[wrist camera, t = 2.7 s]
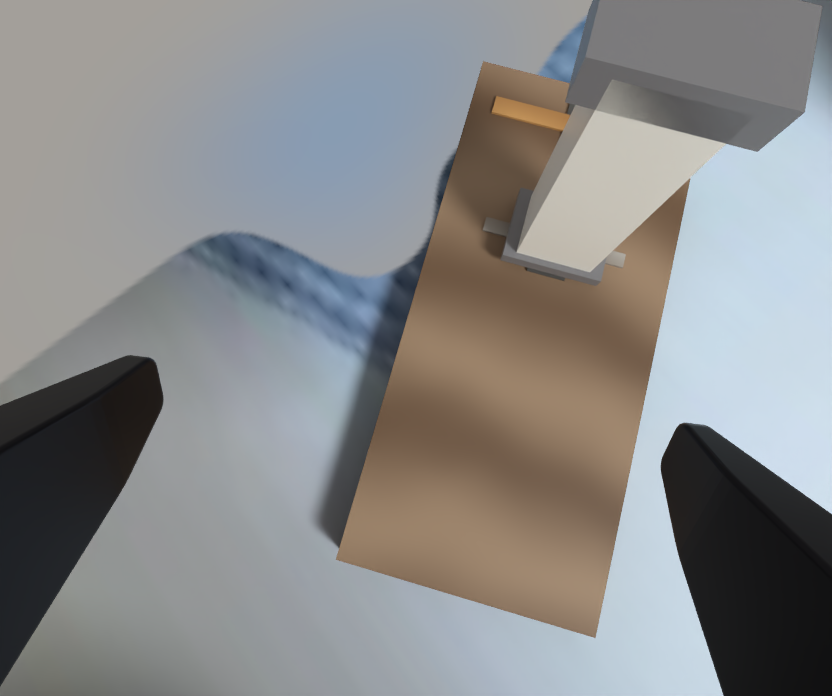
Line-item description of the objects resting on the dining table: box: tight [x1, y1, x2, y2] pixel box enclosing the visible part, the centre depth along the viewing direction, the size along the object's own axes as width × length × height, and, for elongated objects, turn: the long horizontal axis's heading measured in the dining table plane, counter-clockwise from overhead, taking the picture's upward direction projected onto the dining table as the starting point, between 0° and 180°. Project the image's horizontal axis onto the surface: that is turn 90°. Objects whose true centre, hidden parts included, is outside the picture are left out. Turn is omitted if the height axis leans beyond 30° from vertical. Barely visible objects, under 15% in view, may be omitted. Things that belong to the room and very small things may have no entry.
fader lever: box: [500, 0, 822, 286], centre depth 16 cm, size 3×4×11 cm
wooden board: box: [336, 62, 690, 638], centre depth 22 cm, size 22×10×2 cm, turn 164°
